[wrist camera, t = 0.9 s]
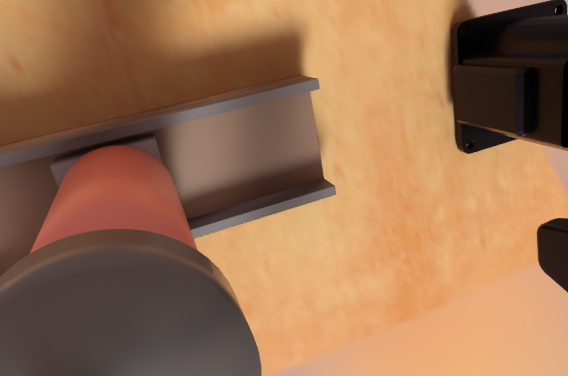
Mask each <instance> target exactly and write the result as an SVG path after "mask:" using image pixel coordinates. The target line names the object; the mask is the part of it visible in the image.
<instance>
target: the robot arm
mask: <svg viewBox="0 0 568 376" xmlns="http://www.w3.org/2000/svg"><path fill="white" fill-rule="evenodd" d="M555 9H556V13H555ZM463 28H464V29H465V34H464V35H463V36H462V34H461V32H462V29H463ZM451 36H452V55H453V81H454V101H455V118H456V133H457V147H458V149H459V150H460V151H461V152H464V153H467V154H470V153H474V152H477V151H480V150H483V149H487V148H490V147H493V146H496V145H500V144H503V143H506V142H509V141H512V140H516V139H521V140H525V141H529V142H533V143H538V144H542V145H546V146H550V147H554V148H558V149H562V150H566V151H568V15H567V4H566V2H565V1H564V0H550V1H546V2H542V3H537V4H533V5H529V6H524V7H520V8H515V9H511V10H506V11H502V12H498V13H493V14H489V15H484V16H480V17H475V18H471V19H467V20H462V21H459V22H457V23H456V24H455V25H454V26H453V28H452V33H451ZM468 140H469V145H468V146H466V144H467V142H468ZM537 248H538V262H539V265H540V266H541V268H542V270H543V271H544V272H545V273H546V274H547V275H548V276H550V277H551V278H552V279H553V280H554V281H555V282H556V283H557V284H559V285H560V286H561V287H562V288H563V289H564V290H566V291H567V292H568V219H566V218H556V219H553V220H551V221H548V222H546V223H544V224H542V225H540V226H539V227H538V230H537Z"/></svg>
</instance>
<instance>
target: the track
mask: <svg viewBox="0 0 568 376" xmlns="http://www.w3.org/2000/svg"><path fill="white" fill-rule="evenodd" d="M317 89H320V87H319V81H318V79H317V78H311V77H306V76H301V75H298V76H293V77H289V78H285V79H281V80H277V81H272V82H268V83H264V84H260V85H255V86H251V87H247V88H243V89H239V90H234V91H230V92H226V93H222V94H217V95H213V96H209V97H205V98H201V99H196V100H192V101H188V102H184V103H179V104H175V105H171V106H167V107H163V108H158V109H154V110H150V111H146V112H141V113H137V114H133V115H129V116H125V117H120V118H116V119H112V120H108V121H103V122H99V123H95V124H91V125H87V126H82V127H78V128H74V129H70V130H65V131H61V132H57V133H53V134H49V135H44V136H40V137H36V138H32V139H27V140H23V141H19V142H15V143H11V144H6V145H2V146H0V276H1V275H2V274H3V273H5V272H6V271H7V270H8V269H9V268H11V267H12V266H13V265H14V264H15V263H16V262H18V261H19V260H21V259H23V258H24V257H26V256H27V255H29V254H30V252H31V250H32V248H33V245H34V243H35V241H36V239H37V237H38V234H39V232H40V230H41V228H42V225H43V223H44V221H45V219H46V217H47V214H48V212H49V210H50V208H51V205H52V203H53V201H54V199H55V196H56V194H57V192H58V190H59V188H58V185H57V183H56V180H55V177H54V175H53V172H52V170H51V167H50V166H51V164H52V162H53V161H54V159H55V158H58V157H62V156H66V155H70V154H74V153H78V152H82V151H86V150H90V149H94V148H98V147H102V146H106V145H110V144H114V143H118V142H122V141H126V140H130V139H134V138H138V137H142V136H146V135H150V134H154V136H155V140H156V143H157V146H158V150H159V153H160V157H161V160H162V163H163V165H164V166H165V167H166V169H167V170H168V171H169V173H170V175H171V177H172V179H173V182H174V184H175V187H176V190H177V193H178V196H179V199H180V202H181V204H182V207H183V210H184V213H185V216H186V219H187V222H188V224H189V227H190V230H191V233H192V236H193V239H194V238H197V237H201V236H204V235H207V234H210V233H214V232H217V231H220V230H223V229H227V228H230V227H233V226H236V225H239V224H243V223H246V222H249V221H252V220H256V219H259V218H262V217H265V216H269V215H272V214H275V213H278V212H281V211H285V210H288V209H291V208H294V207H298V206H301V205H304V204H307V203H310V202H314V201H317V200H320V199H323V198H327V197H330V196H333V195H336V190H335V186H334V185H333V184H331V183H330V182H328V181H327V180H325V179H324V176H323V170H322V164H321V158H320V151H319V145H318V139H317V133H316V127H315V121H314V115H313V109H312V103H311V97H310V91H313V90H317Z"/></svg>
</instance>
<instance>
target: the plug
mask: <svg viewBox="0 0 568 376" xmlns="http://www.w3.org/2000/svg"><path fill="white" fill-rule="evenodd" d="M50 167H51V170H52V172H53V175H54V177H55V180H56V183H57V185H58V188H59V190H58V192H57V194H56V196H55V199H54V201H53V203H52V205H51V208H50V210H49V212H48V214H47V217H46V219H45V221H44V223H43V225H42V228H41V230H40V232H39V234H38V237H37V239H36V241H35V243H34V245H33V248H32V250H31V252H30V254H29V255H27V256H26V257H24V258H23V259H21V260H19V261H18V262H16V263H15V264H14V265H13V266H12V267H11V268H9V269H8V270H7V271H6V272H5V273H3V274H2V275H1V276H0V376H261V362H260V356H259V351H258V348H257V345H256V342H255V340H254V337H253V334H252V332H251V330H250V328H249V325H248V323H247V321H246V318H245V316H244V314H243V312H242V309H241V307H240V305H239V302H238V300H237V298H236V296H235V293H234V291H233V289H232V288H231V286H230V284H229V282H228V280H227V279H226V278H225V276H224V275H223V274H222V272H221V271H220V270H219V268H218V267H217V266H216V265H214V264H213V263H212V262H211V261H210V260H209V259H208V258H207V257H206V256H204V255H203V254H202V253H200V252H199V251H198V250H197V247H196V244H195V242H194V239H193V236H192V233H191V230H190V227H189V224H188V222H187V219H186V216H185V213H184V210H183V207H182V204H181V202H180V199H179V196H178V193H177V190H176V187H175V184H174V182H173V179H172V177H171V175H170V173H169V171H168V170H167V169H166V167H165V166H164V165H163V163H162V160H161V157H160V153H159V150H158V146H157V143H156V140H155V136H154V134H150V135H146V136H142V137H138V138H134V139H130V140H126V141H122V142H118V143H114V144H110V145H106V146H102V147H98V148H94V149H90V150H86V151H82V152H78V153H74V154H70V155H66V156H62V157H58V158H55V159H54V161H53V162H52V164H51V166H50Z"/></svg>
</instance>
